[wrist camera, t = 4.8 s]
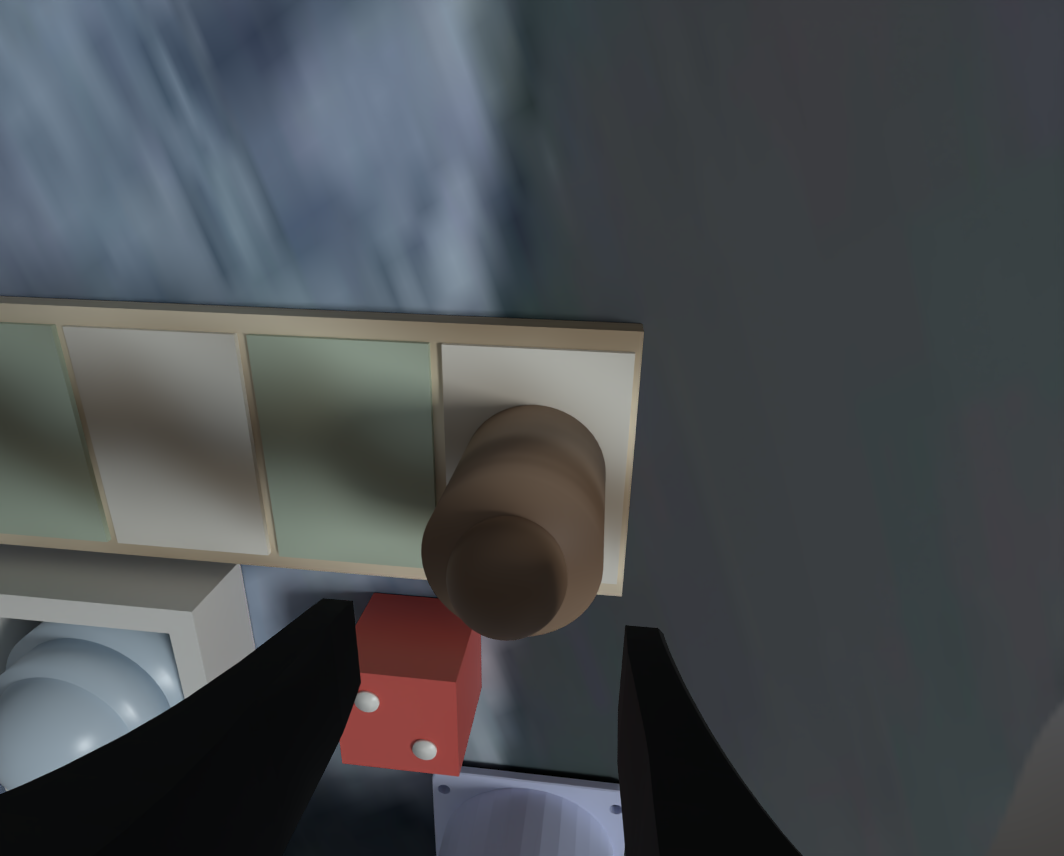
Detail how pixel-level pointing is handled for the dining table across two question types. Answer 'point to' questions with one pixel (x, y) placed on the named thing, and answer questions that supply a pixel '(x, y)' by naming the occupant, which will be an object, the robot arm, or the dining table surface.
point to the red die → (413, 687)
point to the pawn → (520, 525)
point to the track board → (281, 426)
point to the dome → (79, 694)
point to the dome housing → (130, 603)
